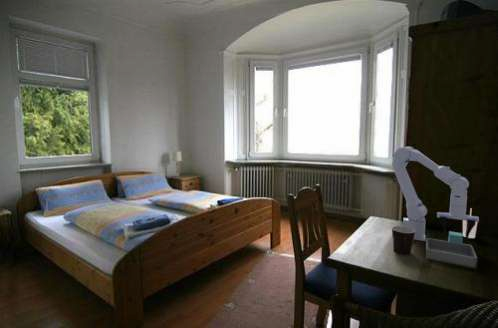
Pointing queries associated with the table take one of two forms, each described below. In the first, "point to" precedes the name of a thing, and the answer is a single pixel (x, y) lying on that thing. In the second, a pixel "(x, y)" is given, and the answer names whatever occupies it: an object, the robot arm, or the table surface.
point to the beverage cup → (473, 231)
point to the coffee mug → (402, 239)
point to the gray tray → (451, 253)
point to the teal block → (455, 237)
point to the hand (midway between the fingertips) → (455, 235)
